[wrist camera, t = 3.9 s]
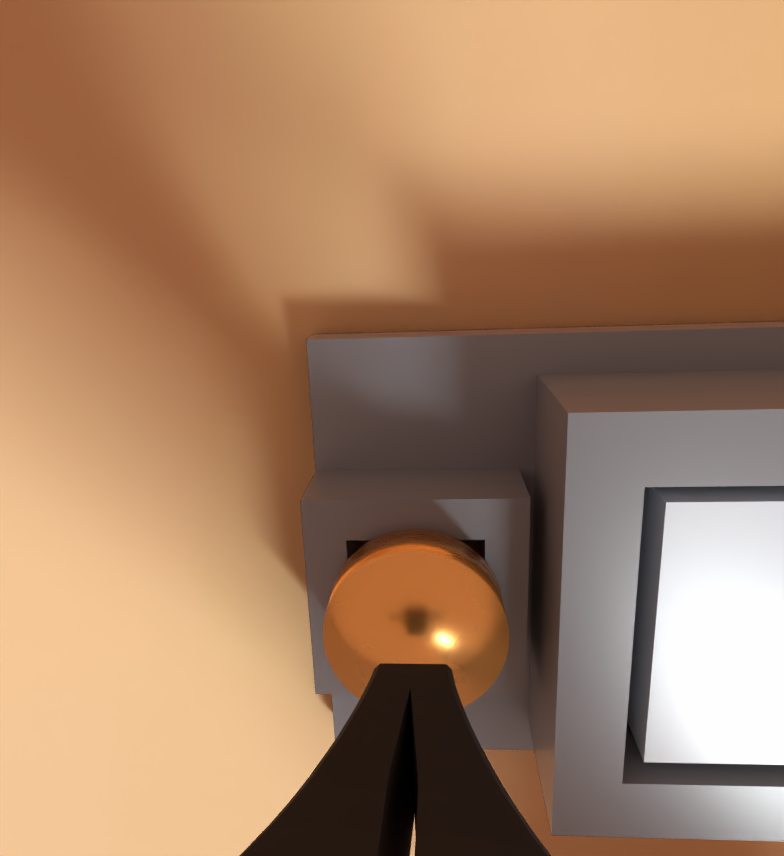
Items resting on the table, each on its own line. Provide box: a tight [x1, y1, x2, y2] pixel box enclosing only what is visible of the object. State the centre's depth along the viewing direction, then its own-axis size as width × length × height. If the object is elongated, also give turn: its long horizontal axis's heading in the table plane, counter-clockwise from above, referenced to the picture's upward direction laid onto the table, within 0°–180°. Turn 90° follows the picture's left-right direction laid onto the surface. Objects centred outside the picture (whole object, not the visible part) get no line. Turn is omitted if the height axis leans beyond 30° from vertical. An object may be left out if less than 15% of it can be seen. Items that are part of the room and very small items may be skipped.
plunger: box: [323, 530, 509, 707], centre depth 15 cm, size 4×4×3 cm
